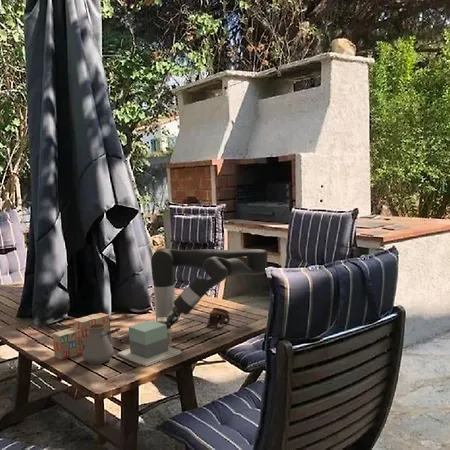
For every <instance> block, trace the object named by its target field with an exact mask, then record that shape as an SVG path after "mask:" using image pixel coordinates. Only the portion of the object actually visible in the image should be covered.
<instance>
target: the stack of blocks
mask: <svg viewBox="0 0 450 450" xmlns="http://www.w3.org/2000/svg"><path fill="white" fill-rule="evenodd" d="M93 324H104V325H105V327H104V333H107V332H109V331H111V322H110V315H109V314H106V313H104V312H99V313H92V314H89V315H87V316H86V315H85V316H82V317H79V318H75V319H73V327H71V328H66V329H63V330H59V331H56V332H52V340H53V341H52V345H53V354H54V357H55V358H58V359H59V360H64V359H65V360H66V359H69V358H72V357H77V356H78V355H82V354H83V351H84V348H85V345H86V342H87V339H88V336H89V331H88V330H87V327H88V326H90V325H93ZM111 335H112V334H109V335H106V336H107V338H108V340H109V342H110V343H111V344H112V337H111Z"/></svg>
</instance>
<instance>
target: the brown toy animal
mask: <svg viewBox="0 0 450 450" xmlns="http://www.w3.org/2000/svg"><path fill="white" fill-rule="evenodd" d="M229 314H230V311H228V310H227V309H224V308H221V307H213V308H212V310H211V311H210V312H209V319H208V320H207V325H208V326H212V327H215V328H218V324H219V325H220V326H222V325H224V324H225V321H227V323H229V322H230V320H231V319H230V315H229ZM226 319H227V320H226Z"/></svg>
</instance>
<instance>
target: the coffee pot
mask: <svg viewBox="0 0 450 450" xmlns="http://www.w3.org/2000/svg"><path fill="white" fill-rule="evenodd" d="M104 327H105V325H104V324H93V325H90V326H88V327H87V330H88V331H89V336H88V339H87V342H86V345H85V348H84V351H83V353H82V354H81V355H82V358H83V360H84V361H86V362H88V364H90V365H101V364H104V363H106V362H109V361H110V359H112V357H113V356H114V354H115V349H114V347H113V345H112V342H111V343H110V342H109V340H108V338H107V336H106V335H109V334H111V335H112V334H114V333H117V334H119V335H120V333H119V331H120V330H121V328H120V327H116V328H115V329H110V331H109V332H107V333H104ZM123 332H124V331H122V332H121V334H122V333H123Z"/></svg>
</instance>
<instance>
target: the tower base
mask: <svg viewBox="0 0 450 450" xmlns="http://www.w3.org/2000/svg"><path fill="white" fill-rule="evenodd" d="M128 338H129V340H128V341H129V348H127V349H124V350H122V351H119V352H117V356H119V357H121V358H123V359H126V360H129V361H131V362H134V363H136V364H139V365H141V364H142V365H141V366H144V365H145V366H144V367H146V366H147V367H149V366H148V365H150V366H152V365H155V364H157V362H158V363H160V362H163V361H165V360H168V359H170V358H173V357H175V356H177V355H178V356H179V355H180V354H182V350H180V349H178V348H174V347H172V346H169V343H168V340H167V325H166V324H162V323H159V322H156V320H155V321H154V320H151V319H149V320H145V321H143V322H140V323H136V324H132V325H129V326H128ZM162 360H163V361H162ZM159 361H160V362H159ZM154 363H155V364H154ZM151 364H152V365H151Z"/></svg>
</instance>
